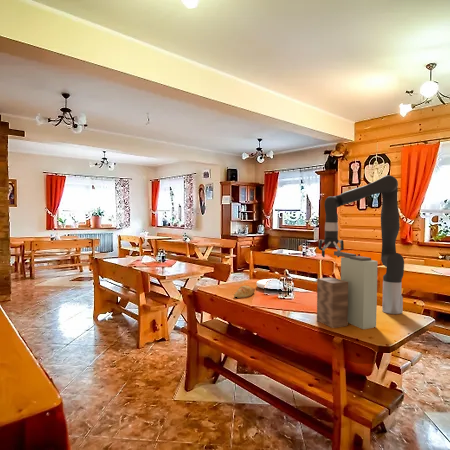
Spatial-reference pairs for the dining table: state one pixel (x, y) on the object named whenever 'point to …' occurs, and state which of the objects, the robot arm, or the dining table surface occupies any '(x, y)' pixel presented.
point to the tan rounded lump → (244, 291)
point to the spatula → (351, 256)
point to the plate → (262, 283)
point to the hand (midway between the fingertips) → (330, 257)
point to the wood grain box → (332, 302)
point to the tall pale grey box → (361, 291)
